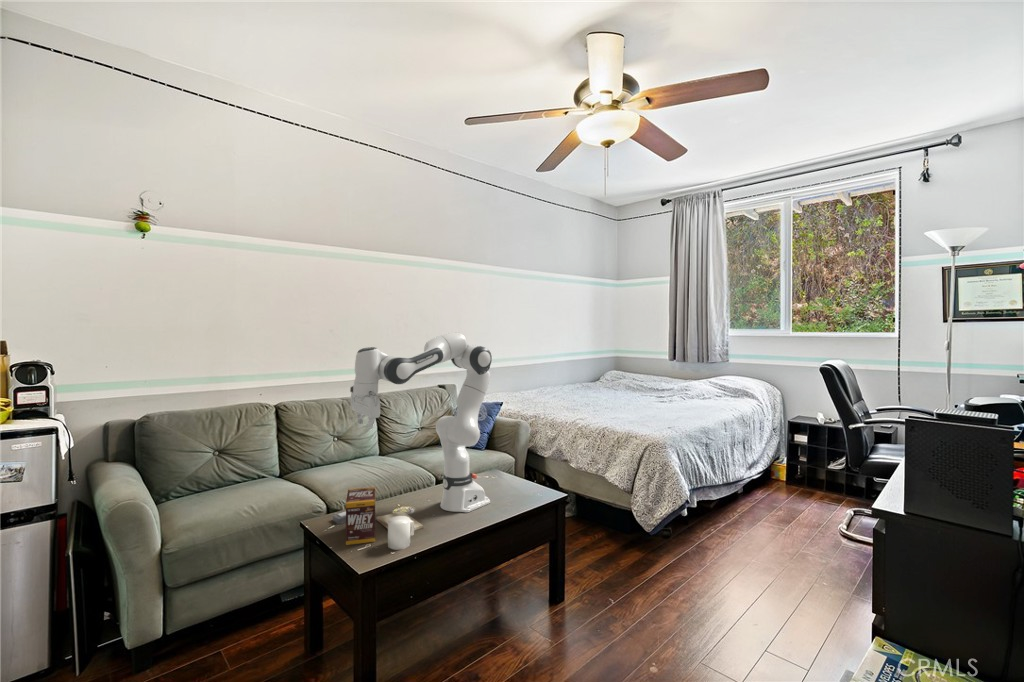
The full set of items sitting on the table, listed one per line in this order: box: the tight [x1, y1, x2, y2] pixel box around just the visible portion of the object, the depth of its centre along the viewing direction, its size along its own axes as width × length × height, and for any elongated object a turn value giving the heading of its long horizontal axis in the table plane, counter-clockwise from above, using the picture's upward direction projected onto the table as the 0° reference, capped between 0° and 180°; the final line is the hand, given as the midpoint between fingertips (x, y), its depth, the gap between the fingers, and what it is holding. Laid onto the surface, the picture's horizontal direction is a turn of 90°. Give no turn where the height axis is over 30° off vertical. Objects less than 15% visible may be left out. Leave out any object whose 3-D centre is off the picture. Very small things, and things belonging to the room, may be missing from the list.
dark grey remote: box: [332, 511, 346, 525], centre depth 197 cm, size 16×5×3 cm, turn 137°
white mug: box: [387, 516, 415, 551], centre depth 173 cm, size 9×8×9 cm
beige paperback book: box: [376, 510, 424, 531], centre depth 191 cm, size 12×18×1 cm, turn 39°
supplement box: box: [345, 486, 376, 546], centre depth 180 cm, size 10×15×16 cm
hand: (364, 426), depth 181 cm, fingers open, 8 cm apart
